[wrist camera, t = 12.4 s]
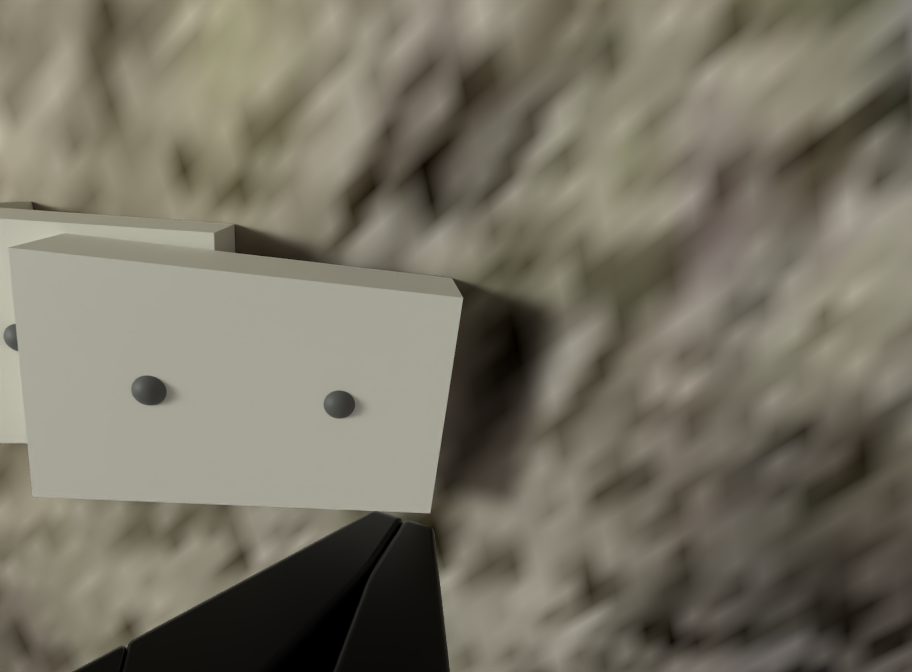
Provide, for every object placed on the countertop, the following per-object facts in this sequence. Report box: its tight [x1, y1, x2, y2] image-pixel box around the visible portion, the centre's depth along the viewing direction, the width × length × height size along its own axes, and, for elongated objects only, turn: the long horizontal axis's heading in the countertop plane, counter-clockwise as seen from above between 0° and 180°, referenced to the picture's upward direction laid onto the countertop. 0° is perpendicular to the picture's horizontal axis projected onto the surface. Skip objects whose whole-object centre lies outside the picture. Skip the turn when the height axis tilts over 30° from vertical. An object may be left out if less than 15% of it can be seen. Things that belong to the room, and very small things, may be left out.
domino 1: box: [0, 208, 235, 443], centre depth 12 cm, size 5×2×8 cm
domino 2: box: [8, 233, 463, 513], centre depth 12 cm, size 5×2×8 cm
